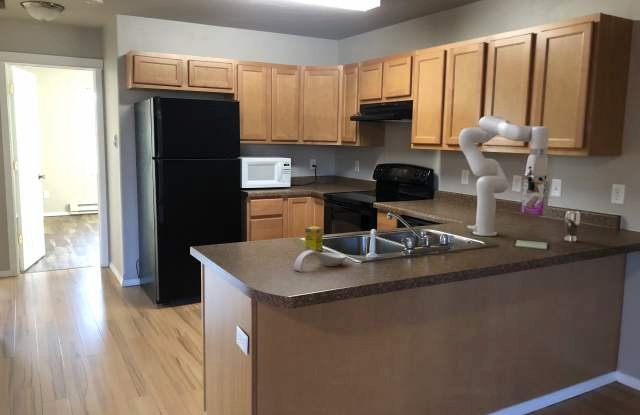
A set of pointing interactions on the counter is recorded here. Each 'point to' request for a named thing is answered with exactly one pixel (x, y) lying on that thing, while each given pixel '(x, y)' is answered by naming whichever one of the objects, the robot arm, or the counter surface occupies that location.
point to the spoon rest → (324, 258)
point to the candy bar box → (535, 198)
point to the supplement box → (314, 239)
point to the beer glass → (571, 225)
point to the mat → (531, 244)
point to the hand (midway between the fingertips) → (535, 189)
